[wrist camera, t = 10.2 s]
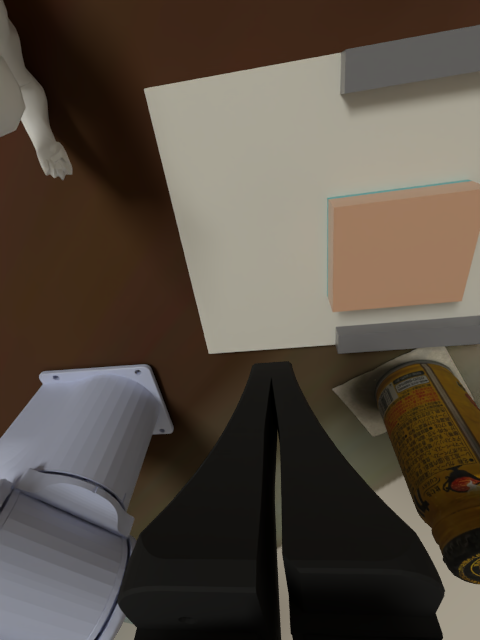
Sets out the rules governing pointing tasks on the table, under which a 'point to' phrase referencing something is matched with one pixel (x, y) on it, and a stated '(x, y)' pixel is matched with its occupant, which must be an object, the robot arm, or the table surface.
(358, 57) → the board
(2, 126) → the person figurine
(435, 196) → the tile
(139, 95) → the table surface
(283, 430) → the robot arm
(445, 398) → the condiment
